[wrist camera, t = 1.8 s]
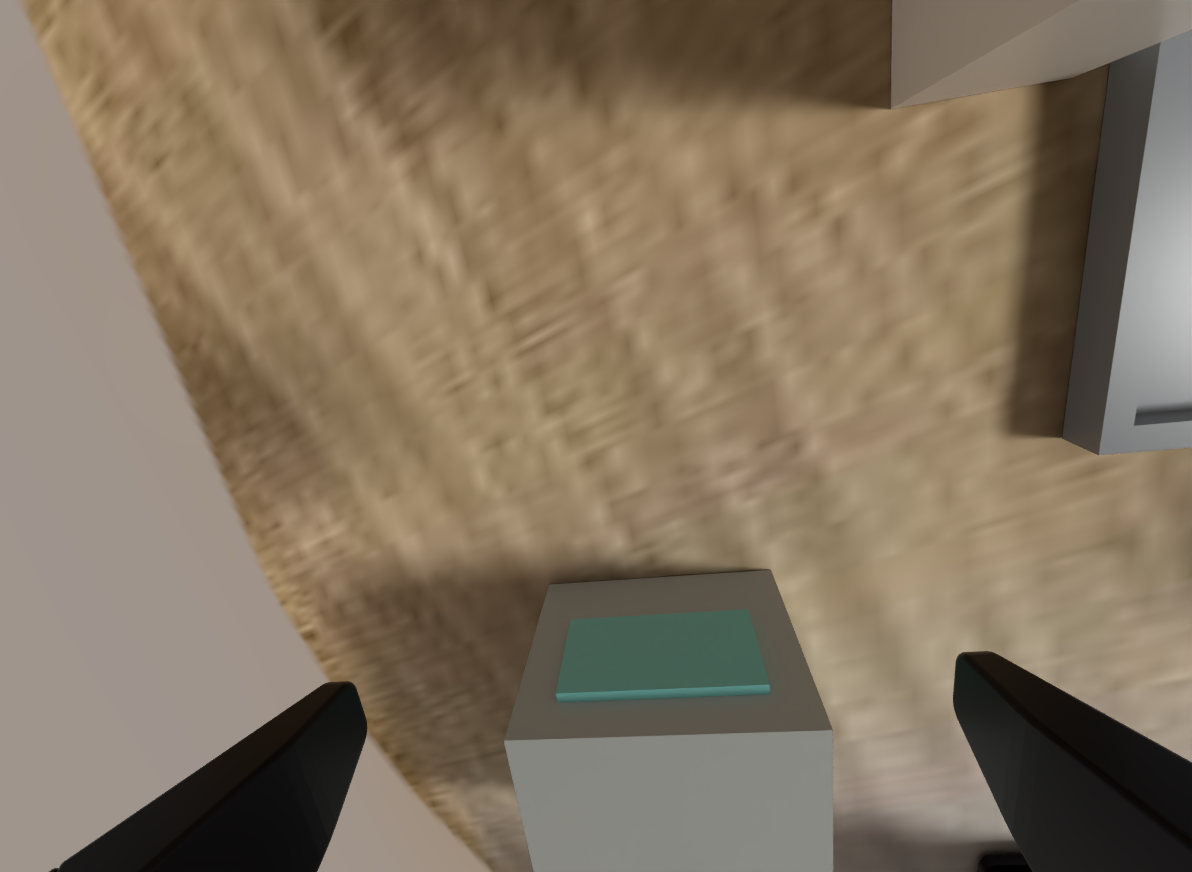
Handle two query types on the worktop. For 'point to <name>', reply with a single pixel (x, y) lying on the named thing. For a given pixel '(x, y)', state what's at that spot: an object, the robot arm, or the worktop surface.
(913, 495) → the worktop surface
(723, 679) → the unit
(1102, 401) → the tray
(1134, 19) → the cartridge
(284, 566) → the worktop surface
